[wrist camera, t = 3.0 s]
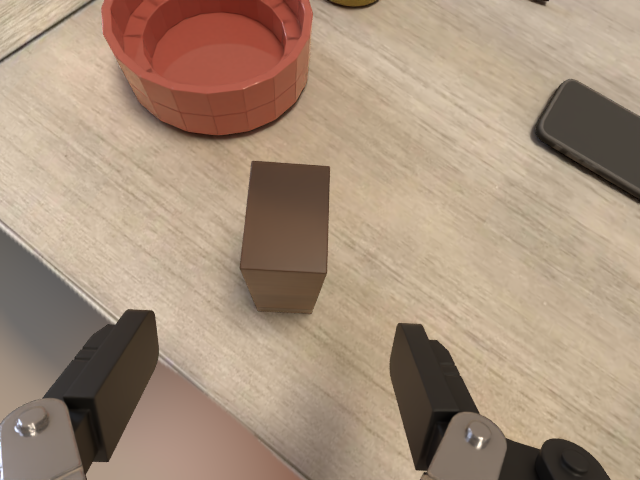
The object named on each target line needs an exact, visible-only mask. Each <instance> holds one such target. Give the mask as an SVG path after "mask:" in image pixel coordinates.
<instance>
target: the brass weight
mask: <svg viewBox="0 0 640 480" xmlns="http://www.w3.org/2000/svg"><path fill="white" fill-rule="evenodd" d="M330 1H332V2H334V3H336V4H340V5H344V6H353V7H356V6H364V5H368V4H371V3H373V2H375V1H376V0H330Z"/></svg>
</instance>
